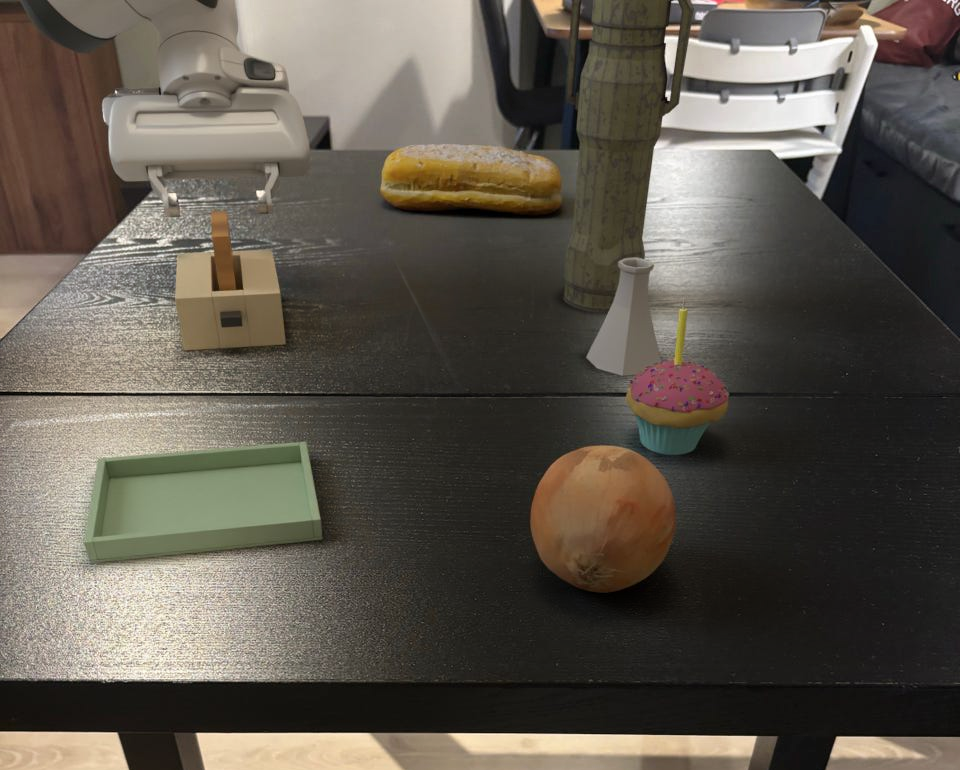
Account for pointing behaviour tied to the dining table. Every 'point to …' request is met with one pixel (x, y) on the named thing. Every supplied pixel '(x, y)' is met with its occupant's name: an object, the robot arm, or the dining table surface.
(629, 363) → the flask
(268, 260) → the toaster
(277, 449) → the tray
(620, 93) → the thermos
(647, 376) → the cupcake
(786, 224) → the dining table surface
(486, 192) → the bread
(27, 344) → the dining table surface
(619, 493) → the onion
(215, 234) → the toast
